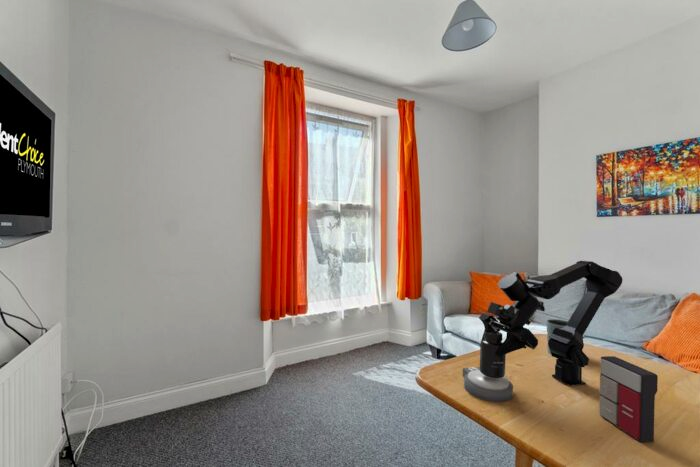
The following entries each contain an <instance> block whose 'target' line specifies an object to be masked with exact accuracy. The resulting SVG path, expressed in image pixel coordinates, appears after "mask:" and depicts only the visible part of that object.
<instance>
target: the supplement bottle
mask: <svg viewBox="0 0 700 467" xmlns="http://www.w3.org/2000/svg"><path fill="white" fill-rule="evenodd" d="M483 334H484V338H485V339H484V340H483V341H482V342H481V341H480V343H481V344H480V343H479V354H480V355H479V368H480V372H481V373H482V374H483V375H485V376H488V377H491V378H502V377H506V376H505V375H506V356H507V354H505V355H502V356H500V357H497V356H496V352H497V351H498V349H499V348H500V346H501V345H502V343H503V333H502V332H501V331H499V332H497V331H489V330H488V331H485V333H484V332H483Z"/></svg>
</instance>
